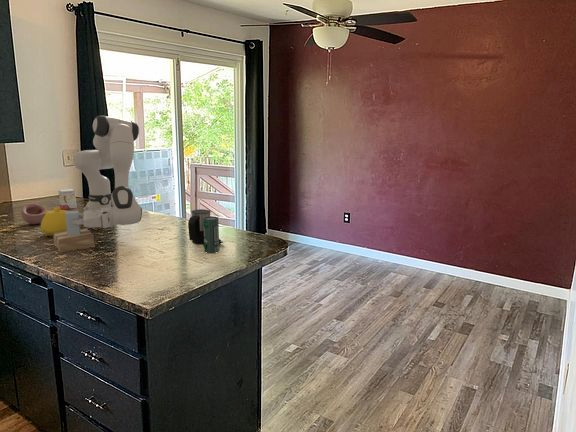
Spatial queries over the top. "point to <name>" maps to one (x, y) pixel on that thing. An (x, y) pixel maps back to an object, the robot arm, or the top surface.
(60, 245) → the maple block
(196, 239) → the milk frother
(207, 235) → the can
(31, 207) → the mortar and pestle
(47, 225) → the teapot
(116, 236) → the top surface
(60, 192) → the ink box
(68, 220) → the gray block
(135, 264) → the top surface
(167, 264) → the top surface
